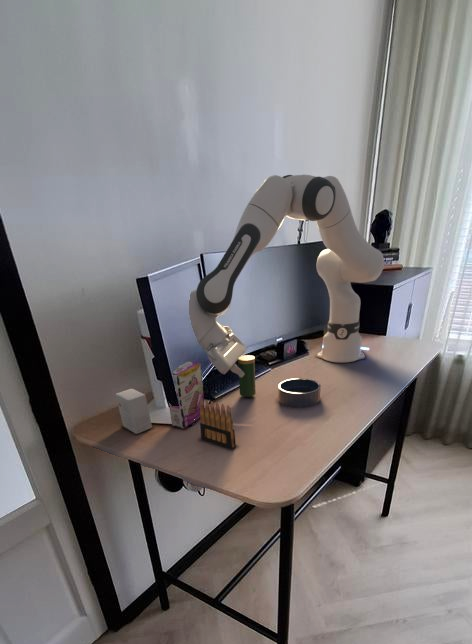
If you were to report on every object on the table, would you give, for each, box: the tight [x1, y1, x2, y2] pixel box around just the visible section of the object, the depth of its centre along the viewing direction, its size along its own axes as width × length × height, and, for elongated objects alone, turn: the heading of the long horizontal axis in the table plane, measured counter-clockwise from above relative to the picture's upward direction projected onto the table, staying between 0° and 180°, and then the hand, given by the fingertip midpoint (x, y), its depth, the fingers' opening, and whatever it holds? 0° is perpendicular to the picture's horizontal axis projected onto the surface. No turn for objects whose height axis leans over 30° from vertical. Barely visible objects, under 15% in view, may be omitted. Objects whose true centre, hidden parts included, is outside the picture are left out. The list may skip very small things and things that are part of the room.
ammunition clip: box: [199, 398, 237, 450], centre depth 105 cm, size 11×2×12 cm, turn 53°
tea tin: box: [237, 354, 257, 398], centre depth 130 cm, size 5×5×12 cm
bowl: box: [277, 377, 322, 409], centre depth 128 cm, size 13×13×5 cm
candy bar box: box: [168, 361, 205, 430], centre depth 117 cm, size 11×5×16 cm, turn 149°
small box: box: [114, 388, 153, 435], centre depth 117 cm, size 8×6×10 cm
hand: (246, 372), depth 129 cm, fingers closed on tea tin, 5 cm apart
